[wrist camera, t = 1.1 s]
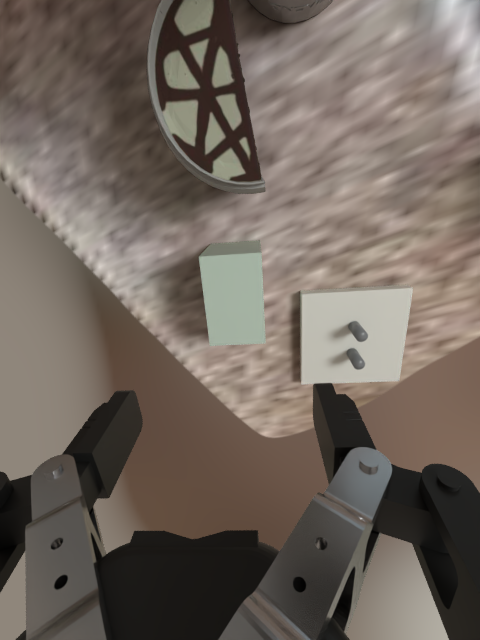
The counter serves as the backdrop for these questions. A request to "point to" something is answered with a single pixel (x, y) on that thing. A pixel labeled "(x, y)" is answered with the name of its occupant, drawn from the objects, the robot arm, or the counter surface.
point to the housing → (233, 293)
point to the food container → (202, 94)
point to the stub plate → (353, 333)
